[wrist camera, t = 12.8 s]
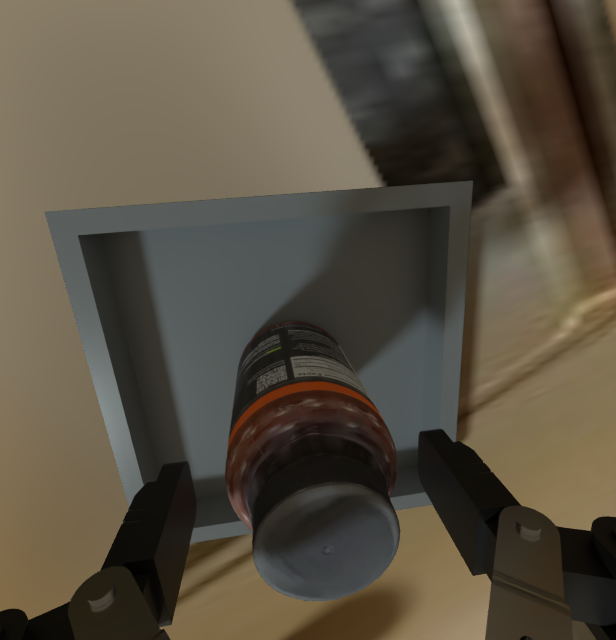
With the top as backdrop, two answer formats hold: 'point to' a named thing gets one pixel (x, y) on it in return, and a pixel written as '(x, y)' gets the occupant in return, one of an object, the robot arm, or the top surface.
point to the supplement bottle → (310, 466)
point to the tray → (265, 316)
